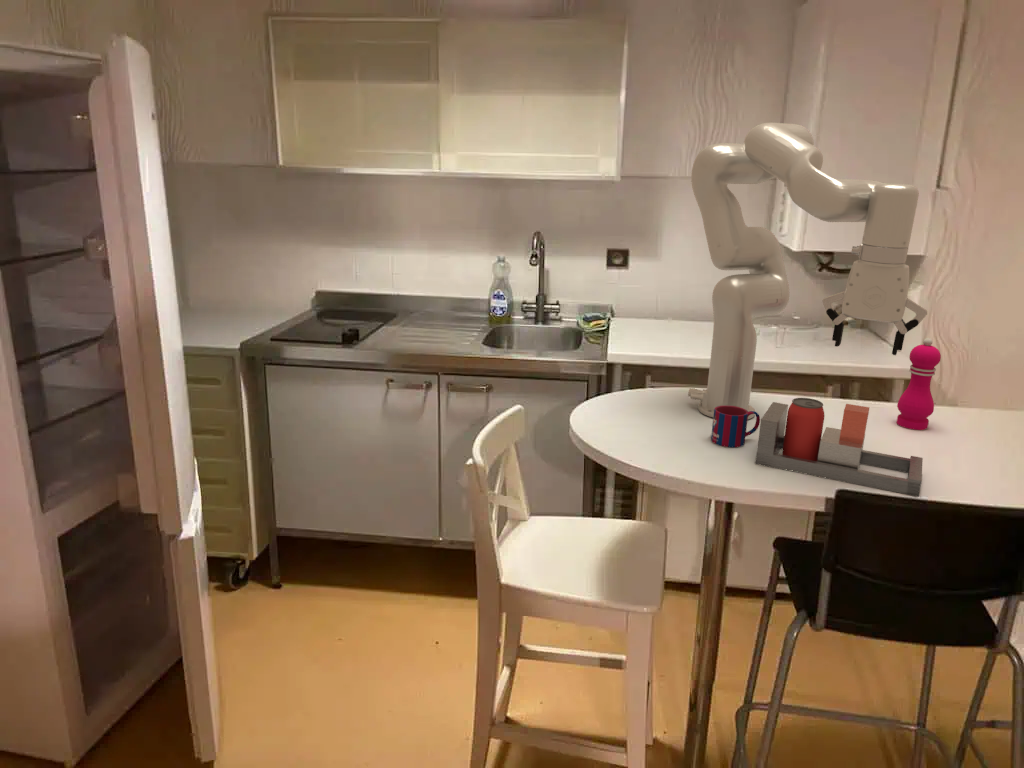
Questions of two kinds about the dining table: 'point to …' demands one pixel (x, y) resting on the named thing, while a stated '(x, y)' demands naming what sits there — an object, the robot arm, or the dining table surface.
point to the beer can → (803, 429)
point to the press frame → (773, 443)
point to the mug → (731, 426)
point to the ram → (845, 439)
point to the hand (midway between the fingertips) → (865, 349)
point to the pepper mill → (919, 388)
